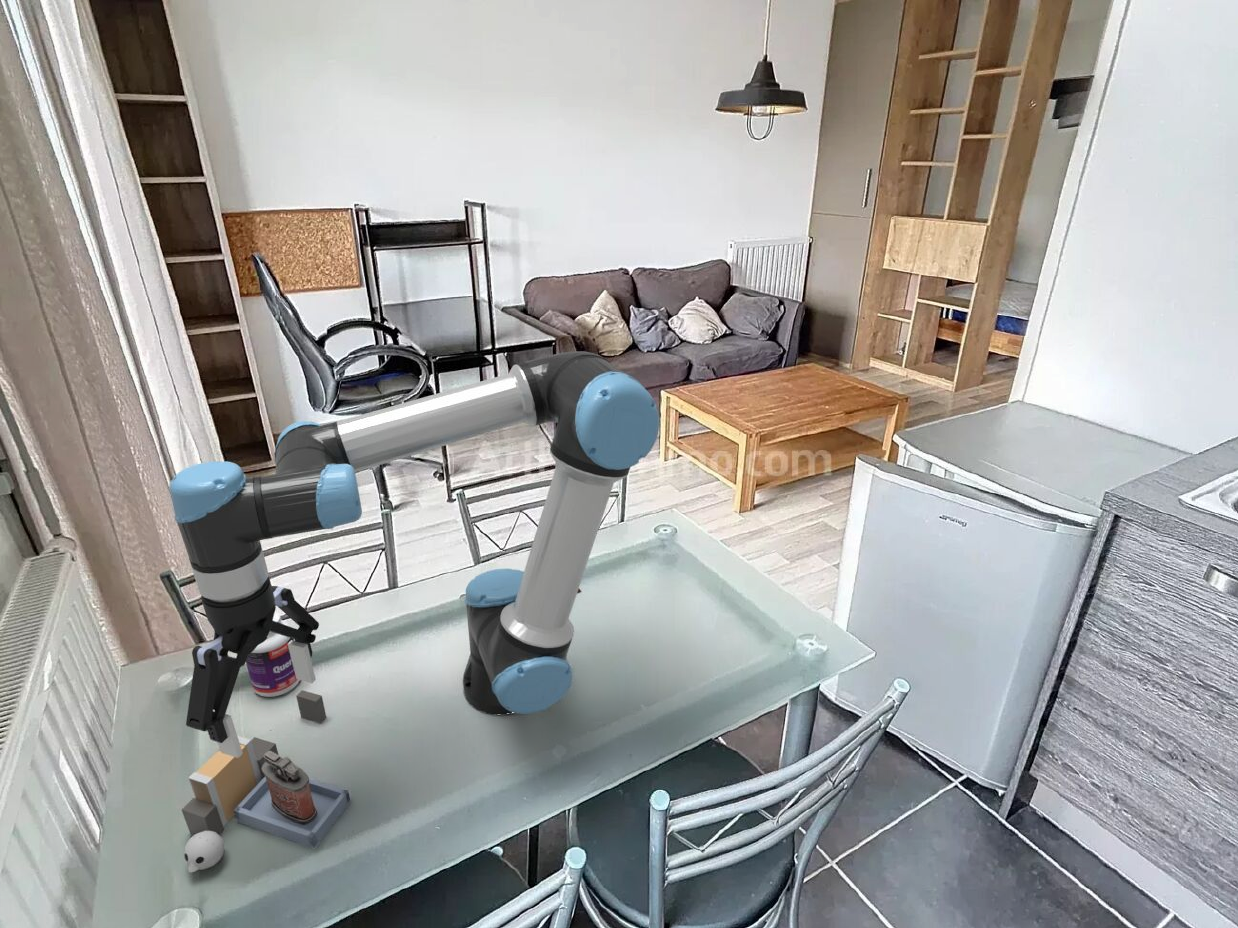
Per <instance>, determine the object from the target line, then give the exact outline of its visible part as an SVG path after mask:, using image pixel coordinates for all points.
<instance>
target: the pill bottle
mask: <svg viewBox="0 0 1238 928" xmlns="http://www.w3.org/2000/svg"><path fill="white" fill-rule="evenodd" d="M273 621H275V622H278V623H281V624H284V625H286V626H289V627H292V626H291V625H290V623H288V622H287V621H284V620H282V618H281V614H280V613H279V611H276V610H275V613H274V617H273ZM291 640H292V641H295V640H294V639H293V638H289V637H286V636H283V635H280V634H277V633H273V632H269V634H268V636H267V639H266V640H265V641H264V642H263V643H261V644H259V645H258V646H257V647H256V648H255V649H254V651H252V652H251V653H250V654H248V656H247V659H246V662H245V664H246V667H247V671H248V672H247V673H248V675H249V680H250V683H251V686H252V690H253V691H254V693H256V694H257V695H259V696H261V697H265V698H266V697H267V698H268V697H269V698H270V697H278V696H281V695H285V694H286V693H288V692H290V691H291V690H293V689H294V688H295V687H297V686H298V684H299V683H300V681H301V680H298V679H296V675H295V671H294V667H293V663H292V659H291V655H290V651H289V647H288V643H289V642H290V641H291Z"/></svg>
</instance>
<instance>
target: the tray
mask: <svg viewBox="0 0 1238 928" xmlns="http://www.w3.org/2000/svg"><path fill="white" fill-rule="evenodd" d="M309 787H310V791H311V795H312V799H313V803H314V806H315V807H316V809H317V816H316V818H315V819H314V821H312V822H311V823H309V824H307V825H301V824H298V823H295V822H292V821H290V820H288V819H286V818H284V817H283V816H282V815H280V814H279V813H278V812H277V811H276V810H275V809H274V808H273V806H272V804H271V795H270V791H269V788H268V784H267V781H266V777H264V778H263V779H262V780H261V781H260V782H259V784H258V785H257V786H256V787H255V788H254V789H253V790H252V791H251V792H250V793H249V794H248V795H247V796H246V798H245V799H244V800H243V801H242V802H241V803H240V804H239V805H238V806H237V807H236V808H235V809H234V817H235V819H236V822H237V823H240V824H243V825H245V826H248V827H251V828H254V829H257V830H260V831H263V832H266V833H269V834H271V835H273V836H278V837H279V838H283V839H286V840H288V841H291V842H294V843H296V844H299V845H303V846H306V847H308V848H311V849H314V848H315V847H316V846H317V847H318V845H319V844H320V843H321V841H322V840H323V839H324V838H325V836H326V834H328V833H329V831H330V830H331V828H332V827H333V826H334V825H335V823H336V822H337V821H338V819H339V818H340V817H341V815H342V814H343V813H342V812H344V811H345V810H346V809H347V807H348V806H349V805H350V803H351V797H350V796H351V795H350V794H349V790H348V789H345V788H341V787H338V786H335V785H331V784H328V783H326V782H322V781H320V780H316V779H314V778H310V777H309ZM348 804H349V805H348ZM345 808H346V809H345ZM335 821H336V822H335ZM332 825H333V826H332ZM323 837H324V838H323ZM319 842H320V843H319ZM318 843H319V844H318ZM317 847H316V848H317ZM316 848H315V849H316Z"/></svg>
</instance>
